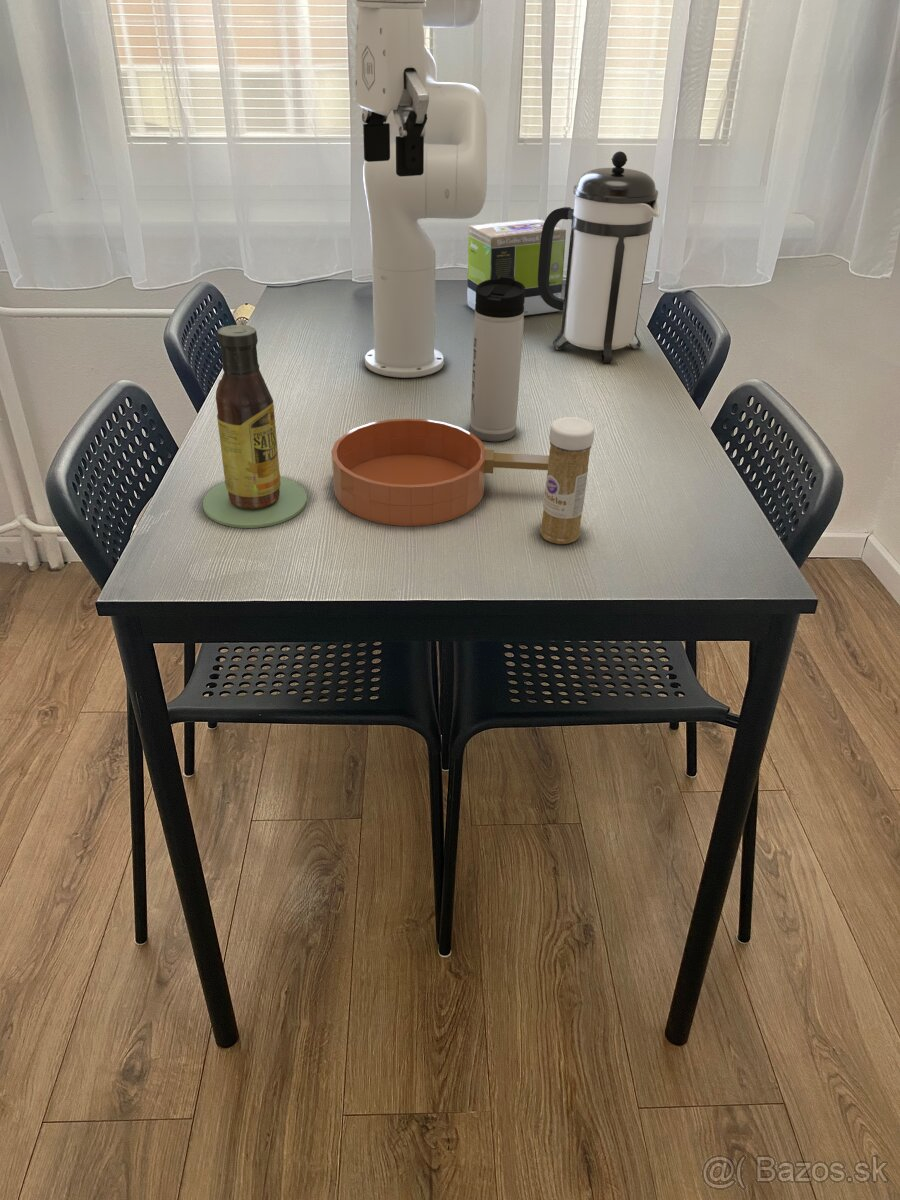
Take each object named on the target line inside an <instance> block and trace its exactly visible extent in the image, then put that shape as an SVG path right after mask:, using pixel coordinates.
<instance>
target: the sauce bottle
mask: <svg viewBox="0 0 900 1200" xmlns="http://www.w3.org/2000/svg"><path fill="white" fill-rule="evenodd" d="M216 334H217V340H218V344H219V346H220V352H221V353H220V354H221V361H222V367H221V368H222V371H223V374H222V376H221V379H220V380H219V381H218V384H217V387H216V390H215V402H216V409H217V410H216V411H217V415H216V418H217V426H218V427H217V428H218V435H219V443H220V451H221V459H222V467H223V477H224V482H225V484H226V489H227V491H228V496H229V500H230V502H231V503H232V504H233V505H235V506H236V507H239V508H243V509H258V508H264V507H267V506H269V505H272V504H273V503H275V502H276V501H277V500H278V499H279V494H280V489H279V488H280V485H281V482H280V477H281V473H280V462H279V461H280V460H279V459H280V458H279V449H278V447H279V446H278V439H277V429H276V428H277V427H276V416H275V405H274V399H273V397H272V393H271V392H270V390H269V388H268V386H267V383H266V382H265V381H266V380H265V379H264V377H263V375H262V372H261V370H260V364H259V359H258V350H257V345H258V340H259V339H258V335H257V334H258V333H257V329H256V328H255V327H253V326H251V325H246V324H232V325H226V326H222V327H220V328H219V329H218V330H217V333H216Z"/></svg>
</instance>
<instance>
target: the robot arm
mask: <svg viewBox="0 0 900 1200" xmlns="http://www.w3.org/2000/svg"><path fill="white" fill-rule="evenodd" d="M482 4H483V0H355V7H356V8H357V18H356V26H355V27H356V28H355V57H354V58H355V62H354V63H355V67H354V68H355V69H354V72H355V75H354V76H355V78H354V79H355V81H354V82H355V84H354V87H355V88H354V91H355V101H356V103H357V105H358V107H360V108H361V109H362V113H361V121H362V131H363V132H362V133H363V134H362V135H363V136H362V137H363V159H364V162H363V167H362V180H363V187H364V193H365V199H366V205H367V211H368V218H369V228H370V230H369V231H370V244H371V246H370V247H371V275H372V311H373V312H372V315H373V317H372V318H373V347H374V348H372V349H370V350H369V351H367V353H366V354H365V355H364V365H365V367H366V368H367V369H368V370H369V371H371V372H373V373H374V374H378V375H381V376H385V377H391V378H400V379H402V378H403V379H406V378H409V379H410V378H411V379H412V378H419V377H421V378H422V377H425V376H429V375H432V374H435V373H437V372H438V371H440V370H441V369H443V367H444V364H445V356H444V355H443V353H442V352H441V351H439V350H438V349H436V348H435V337H436V336H435V335H436V334H435V333H436V329H435V328H436V326H435V325H436V267H437V266H436V263H437V261H436V260H437V259H436V258H437V257H436V256H437V255H436V254H437V253H436V248H435V244H434V242H433V240H432V238H431V237H430V235H429V234H428V232H427V231H426V230H425V228H424V227H423V226H422V224H421V223H420V221H419V220H420V219H422V220H423V219H451V220H453V219H457V220H459V219H460V220H461V219H462V220H463V219H464V220H465V219H471V218H474V217H476V216H477V215H479V214H480V212H481V211H482V210H483V208H484V205H485V202H486V198H487V187H488V117H487V116H488V115H487V108H486V102H485V98H484V96H483V93H482V92H481V91H480V89H478V88H477V86H474V85H472V84H469V83H463V82H449V81H447V82H446V81H445V82H444V81H437V76H438V75H437V73H438V68H437V63H436V61H435V59H434V56H433V54H432V53H431V51H430V50H429V49H428V47H427V46H426V45H425V30H424V28H443V29H445V28H448V29H454V28H455V29H463V28H467V27H470V26H472V25H473V24H475V23H476V21H477V20H478V19H479V16H480V12H481V11H482V10H481V8H482Z"/></svg>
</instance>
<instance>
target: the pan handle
mask: <svg viewBox="0 0 900 1200" xmlns="http://www.w3.org/2000/svg"><path fill="white" fill-rule="evenodd" d="M548 462H549V455H543V454H525V453H524V454H523V453H507V452H504V453H503V452H495V449H488V448H485V469H484V473H485V474H492V475H493V474H494V469H495V468H497V469H498V468H499V469H513V470H532V471H533V470H534V471H535V470H536V471H548Z"/></svg>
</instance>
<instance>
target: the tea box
mask: <svg viewBox="0 0 900 1200" xmlns="http://www.w3.org/2000/svg"><path fill="white" fill-rule="evenodd" d="M544 222H545V220H543V219H542V218H530V219H520V220H511V221H509V220H508V221H497V222H489V223H483V224H481V223H480V224H470V225H468V229H467V230H468V232H467V236H468V237H467V279H466V281H467V284H466V285H467V288H466V290H467V295H466V298H467V306H468V307H469V308H470V309H471V310H472V311H475V304H476V302H475V301H476V287H477V285H478V284H480V283H481V282H483V281H486V280H490V279H500V277H501V276H507V277H514V278H515V281H518V282H520V283H522V284H523V285H524V286H525V301H524V316H523V317H525V316H531V315H532V316H533V315H539V314H547V313H555V312H560V311H561V310H558V309H555V308H553V307H551V306H549V305H548V304H546V303H545V302H544V300H543V299H542V297H541V295H540V292H539V288H538V266H539V253H540V242H541V234H542V228H543V225H544ZM566 236H567V229H565V228H562V227H561V226H557V225H556V226H555V228H554V232H553V240H552V251H551V263H550V275H549V286H550V289H551V291H552V293H553V294H554V296H556V297H558V298H560V299H562V294H563V293H562V291H563V281H564V265H565V252H566V238H567V237H566Z"/></svg>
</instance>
